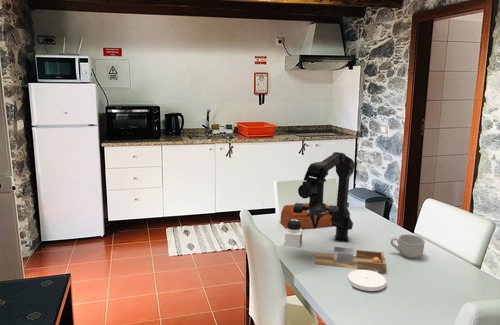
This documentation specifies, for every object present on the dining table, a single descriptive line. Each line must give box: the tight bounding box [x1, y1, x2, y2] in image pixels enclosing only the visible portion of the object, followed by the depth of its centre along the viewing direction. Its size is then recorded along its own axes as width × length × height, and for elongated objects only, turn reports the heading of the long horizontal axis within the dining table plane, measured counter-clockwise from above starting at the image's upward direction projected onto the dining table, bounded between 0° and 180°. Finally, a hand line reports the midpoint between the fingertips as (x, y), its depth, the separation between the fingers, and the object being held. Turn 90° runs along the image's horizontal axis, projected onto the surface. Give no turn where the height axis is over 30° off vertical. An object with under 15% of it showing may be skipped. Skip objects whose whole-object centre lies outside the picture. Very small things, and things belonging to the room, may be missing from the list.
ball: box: [372, 257, 380, 263], centre depth 172 cm, size 3×3×3 cm
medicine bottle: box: [284, 220, 303, 248], centre depth 191 cm, size 7×7×12 cm
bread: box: [280, 202, 333, 230], centre depth 220 cm, size 16×27×11 cm, turn 106°
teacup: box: [390, 233, 426, 259], centre depth 183 cm, size 14×11×8 cm
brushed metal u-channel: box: [333, 246, 355, 264], centre depth 174 cm, size 5×5×8 cm
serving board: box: [314, 249, 387, 275], centre depth 174 cm, size 12×28×4 cm, turn 78°
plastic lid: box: [347, 269, 387, 292], centre depth 158 cm, size 14×14×2 cm
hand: (315, 228), depth 178 cm, fingers closed
